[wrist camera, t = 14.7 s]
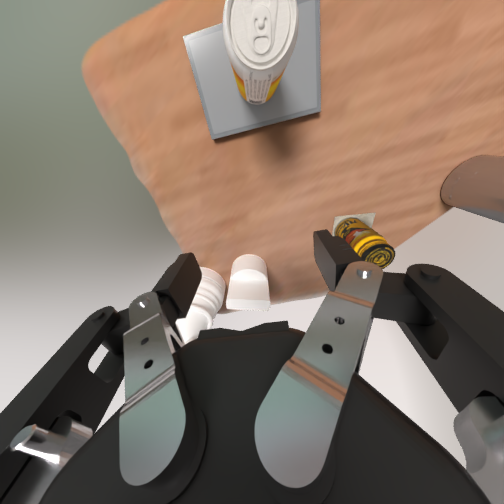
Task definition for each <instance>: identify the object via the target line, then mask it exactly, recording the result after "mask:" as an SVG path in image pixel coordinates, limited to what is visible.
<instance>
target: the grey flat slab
mask: <svg viewBox="0 0 504 504" xmlns="http://www.w3.org/2000/svg"><path fill="white" fill-rule="evenodd" d="M296 1H297V6H298V13H299V29H298V36H297V41H296V44H295V48H294V50H293V53H292V55H291V57H290V60H289V62H288V64H287V66H286V68H285V71H284V73H283V75H282V77H281V79H280V82H279V84H278V86H277V88H276V90H275V92H274V94H273V96H272V97H271V98H270V99H269V100H268V101H266V102H265V103H263V104H258V105H256V104H251V103H249V102H248V101H246V100H245V99H244V98H243V97H242V95H241V94H240V92H239V89H238V87H237V83H236V80H235V76H234V73H233V70H232V66H231V63H230V59H229V56H228V53H227V49H226V45H225V41H224V36H223V23H221V24H218V25H215V26H212V27H209V28H206V29H203V30H200V31H197V32H194V33H191V34H189V35H186V36H183V39H184V42H185V46H186V49H187V53H188V56H189V60H190V64H191V67H192V71H193V74H194V78H195V81H196V85H197V88H198V92H199V95H200V99H201V103H202V106H203V110H204V113H205V117H206V120H207V124H208V127H209V131H210V134H211V138H212V140H214V139H218V138H221V137H225V136H229V135H233V134H237V133H241V132H244V131H248V130H252V129H256V128H260V127H264V126H267V125H271V124H275V123H279V122H283V121H287V120H290V119H294V118H298V117H302V116H306V115H310V114H313V113H317V112H320V111H321V86H320V0H296Z"/></svg>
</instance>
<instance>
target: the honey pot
mask: <svg viewBox="0 0 504 504" xmlns="http://www.w3.org/2000/svg"><path fill="white" fill-rule="evenodd" d="M200 269H201V272H202V279H201V282H200V284H199V287H198V289H197V292H196V294H195V297H194V299H193V301H192V304H191V306H190V309H189V311H188V314H187V316H186V318H183V319H177V321H176V324H177V325H178V327H179V330H180V332H181V335H182V337H183V340H184V342H185V344H187V343H188V342H190V341H192V340H194V339H196V338H197V337H198V335H199V332H200V330H207V329H210V328H211V327H212V325H213V319H214V318H215V316H216V314H217V312H218V311H219V310H220V308H221V306H222V304H223V299H224V294H225V288H226V285H225V281H224V280H223V278H222V277H221V276H220V275H219V274H218V273H217V272H215V271H213V270H212V269H209V268H205V267H200Z"/></svg>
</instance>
